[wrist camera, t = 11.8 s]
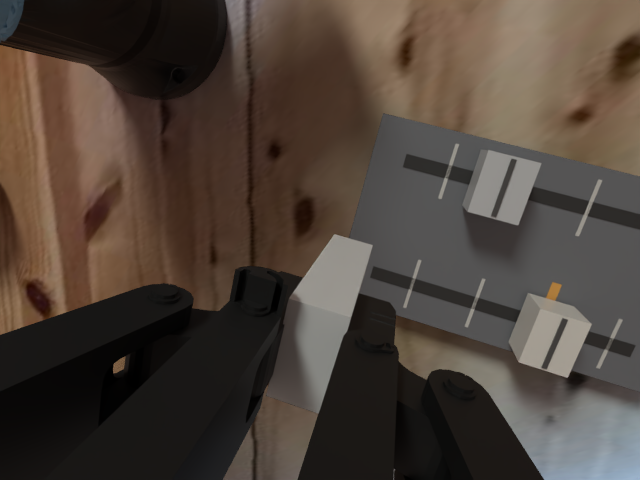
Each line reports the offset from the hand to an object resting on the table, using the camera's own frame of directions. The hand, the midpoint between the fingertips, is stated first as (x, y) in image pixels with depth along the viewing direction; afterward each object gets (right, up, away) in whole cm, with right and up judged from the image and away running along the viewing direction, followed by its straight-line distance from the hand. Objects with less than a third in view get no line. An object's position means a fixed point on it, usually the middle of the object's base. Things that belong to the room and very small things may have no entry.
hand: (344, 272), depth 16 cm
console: (+17, +1, +25) cm, 31 cm away
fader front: (+14, +6, +21) cm, 26 cm away
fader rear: (+19, -6, +23) cm, 30 cm away
